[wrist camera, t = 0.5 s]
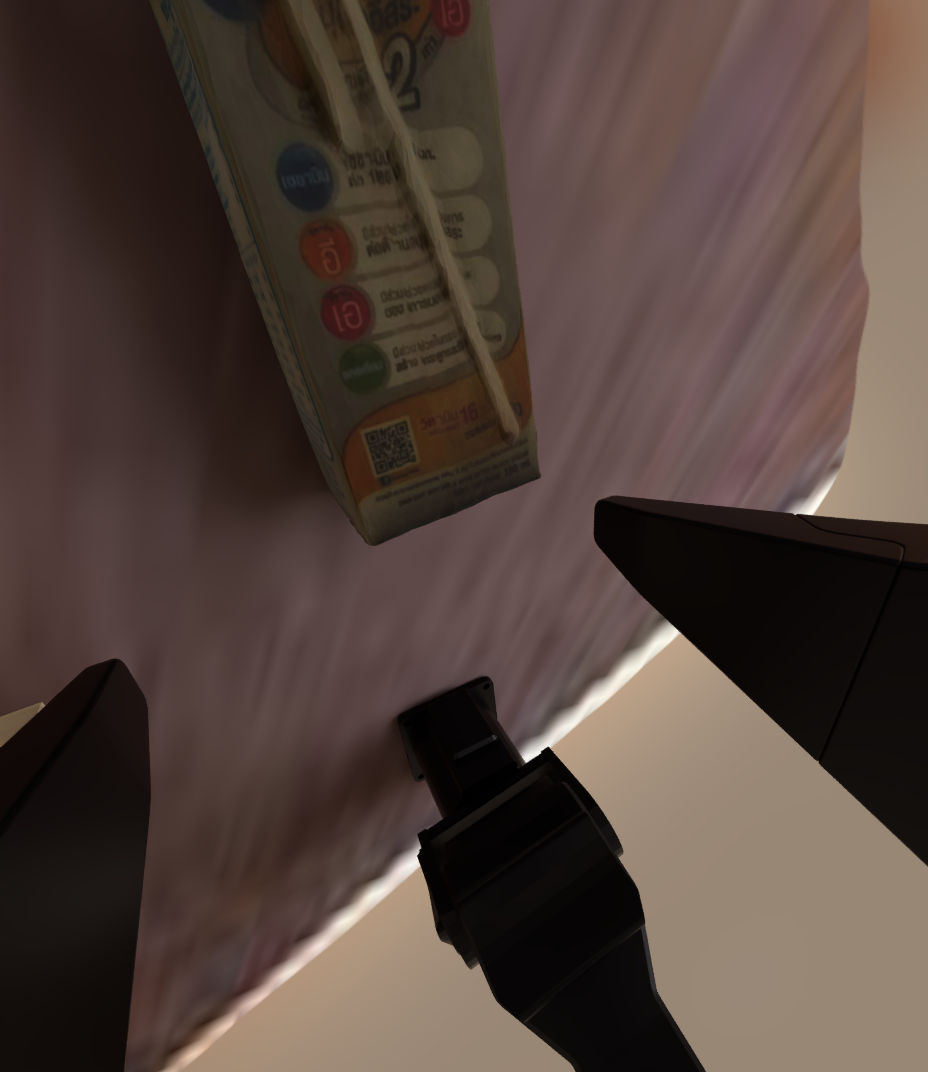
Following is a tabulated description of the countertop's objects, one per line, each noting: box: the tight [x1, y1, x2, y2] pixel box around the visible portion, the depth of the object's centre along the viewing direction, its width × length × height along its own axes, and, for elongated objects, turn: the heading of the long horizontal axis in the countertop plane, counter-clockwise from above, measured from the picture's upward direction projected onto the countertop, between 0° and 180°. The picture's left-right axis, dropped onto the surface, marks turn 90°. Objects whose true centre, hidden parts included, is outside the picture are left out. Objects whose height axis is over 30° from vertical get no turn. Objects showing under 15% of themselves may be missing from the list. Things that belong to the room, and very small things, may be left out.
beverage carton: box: [149, 0, 541, 546], centre depth 15 cm, size 8×19×7 cm, turn 11°
